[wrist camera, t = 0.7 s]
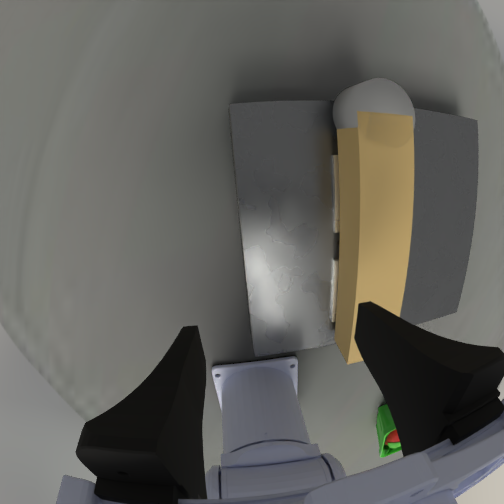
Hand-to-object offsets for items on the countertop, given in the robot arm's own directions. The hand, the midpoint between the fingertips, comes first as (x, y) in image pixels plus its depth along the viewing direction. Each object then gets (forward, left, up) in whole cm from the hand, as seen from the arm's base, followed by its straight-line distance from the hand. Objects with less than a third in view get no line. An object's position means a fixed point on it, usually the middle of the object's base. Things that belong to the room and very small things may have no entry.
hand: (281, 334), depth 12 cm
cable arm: (+2, -7, -7) cm, 10 cm away
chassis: (+1, -9, -10) cm, 14 cm away
